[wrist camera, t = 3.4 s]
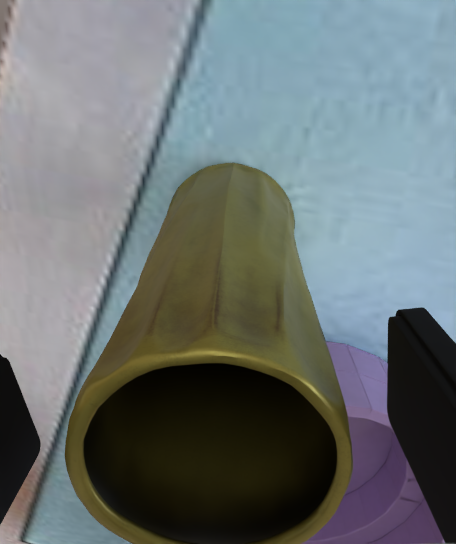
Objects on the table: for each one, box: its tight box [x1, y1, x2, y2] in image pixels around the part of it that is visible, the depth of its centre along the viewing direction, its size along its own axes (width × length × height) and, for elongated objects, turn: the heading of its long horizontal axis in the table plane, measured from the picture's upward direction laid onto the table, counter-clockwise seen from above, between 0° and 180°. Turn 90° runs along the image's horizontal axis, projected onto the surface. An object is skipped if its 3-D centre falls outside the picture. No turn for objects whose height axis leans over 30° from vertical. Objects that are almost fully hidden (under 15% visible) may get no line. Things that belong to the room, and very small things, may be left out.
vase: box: [65, 163, 353, 544], centre depth 14 cm, size 6×6×14 cm
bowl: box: [301, 341, 445, 544], centre depth 23 cm, size 14×14×6 cm
